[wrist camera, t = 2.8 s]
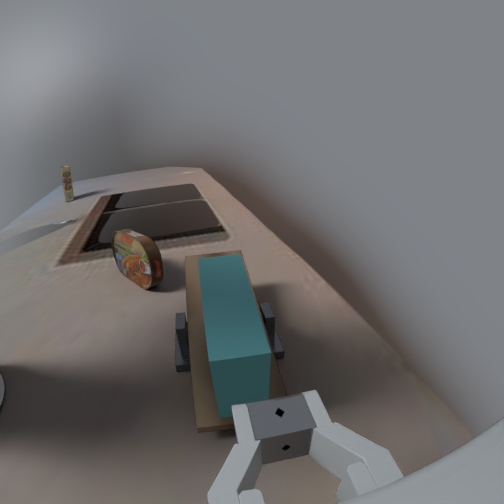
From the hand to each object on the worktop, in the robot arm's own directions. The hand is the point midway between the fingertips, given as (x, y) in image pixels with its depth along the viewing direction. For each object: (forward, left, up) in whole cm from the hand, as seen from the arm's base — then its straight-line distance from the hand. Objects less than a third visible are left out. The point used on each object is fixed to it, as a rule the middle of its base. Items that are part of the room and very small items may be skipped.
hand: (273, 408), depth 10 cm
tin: (-13, +43, -16) cm, 47 cm away
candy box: (-59, +127, -16) cm, 141 cm away
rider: (0, +15, -12) cm, 19 cm away
